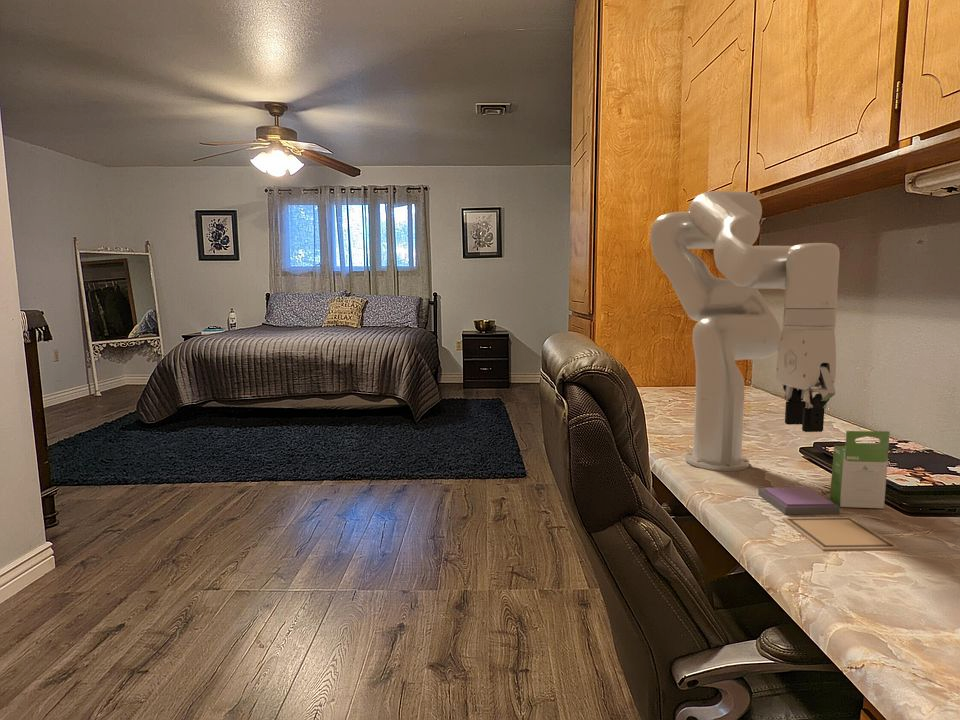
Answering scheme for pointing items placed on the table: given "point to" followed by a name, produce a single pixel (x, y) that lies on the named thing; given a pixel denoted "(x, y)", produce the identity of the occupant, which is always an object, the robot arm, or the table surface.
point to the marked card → (839, 534)
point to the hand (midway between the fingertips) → (803, 426)
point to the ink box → (860, 471)
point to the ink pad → (798, 501)
